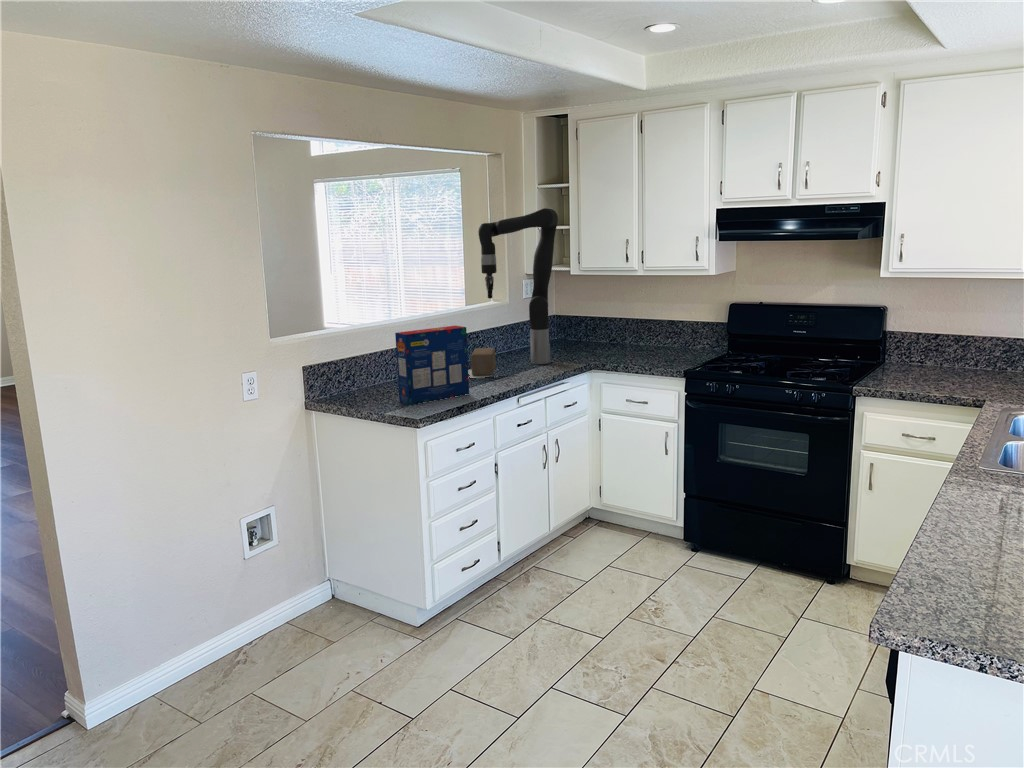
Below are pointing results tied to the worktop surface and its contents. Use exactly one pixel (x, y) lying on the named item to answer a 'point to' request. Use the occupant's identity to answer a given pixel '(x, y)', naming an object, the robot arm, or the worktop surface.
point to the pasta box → (432, 364)
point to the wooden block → (483, 361)
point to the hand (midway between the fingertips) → (490, 298)
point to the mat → (477, 376)
